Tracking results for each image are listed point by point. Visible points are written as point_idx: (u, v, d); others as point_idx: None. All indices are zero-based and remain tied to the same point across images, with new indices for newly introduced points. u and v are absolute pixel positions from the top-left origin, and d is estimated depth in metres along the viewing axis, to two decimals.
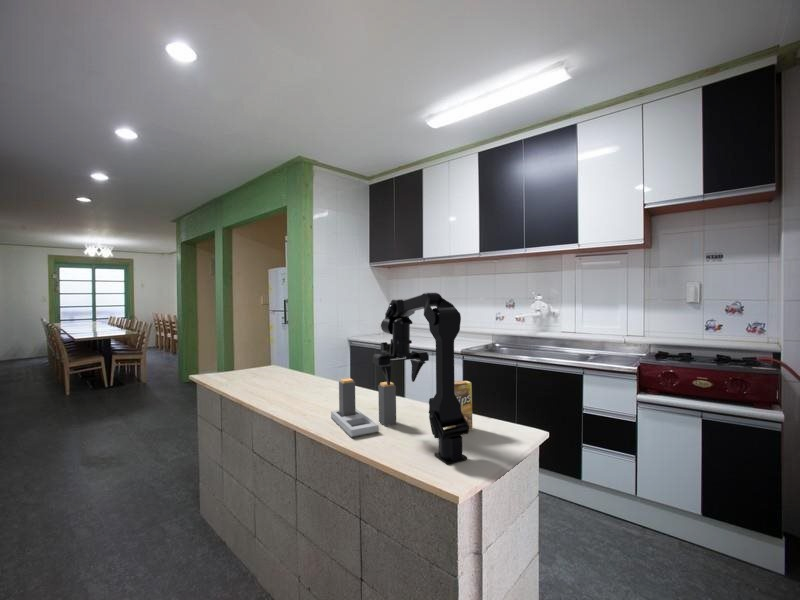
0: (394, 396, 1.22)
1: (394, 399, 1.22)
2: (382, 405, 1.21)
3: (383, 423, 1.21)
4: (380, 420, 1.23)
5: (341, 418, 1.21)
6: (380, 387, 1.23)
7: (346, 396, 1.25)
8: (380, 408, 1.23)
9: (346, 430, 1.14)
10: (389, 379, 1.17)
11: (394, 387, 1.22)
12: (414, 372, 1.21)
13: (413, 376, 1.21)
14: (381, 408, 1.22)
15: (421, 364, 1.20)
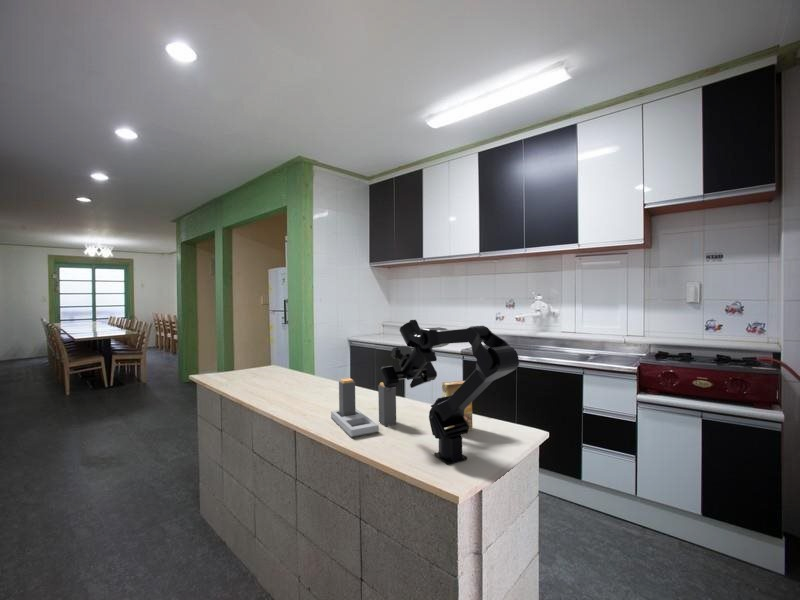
0: (394, 396, 1.22)
1: (394, 399, 1.22)
2: (382, 405, 1.21)
3: (383, 423, 1.21)
4: (380, 420, 1.23)
5: (341, 418, 1.21)
6: (380, 387, 1.23)
7: (346, 396, 1.25)
8: (380, 408, 1.23)
9: (346, 430, 1.14)
10: (389, 390, 1.12)
11: None
12: (415, 383, 1.17)
13: (413, 384, 1.18)
14: (381, 408, 1.22)
15: None
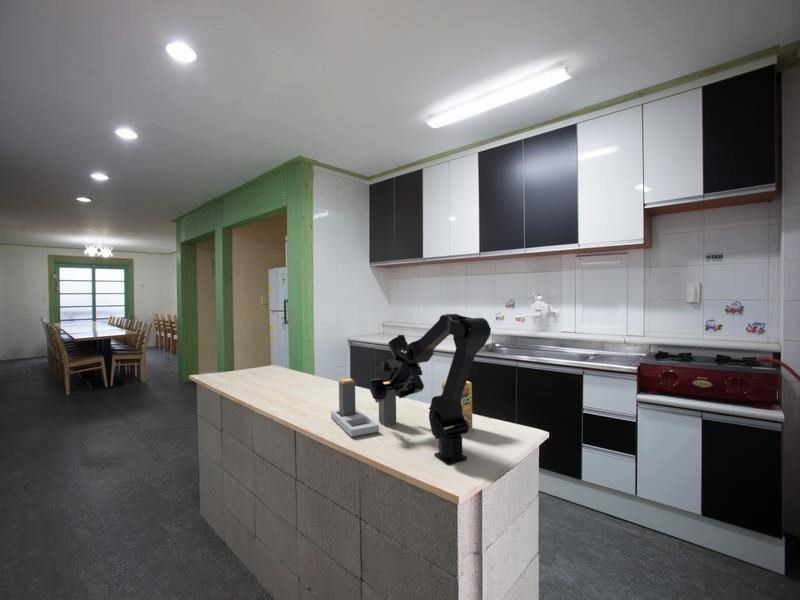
0: (394, 396, 1.22)
1: (394, 399, 1.22)
2: (382, 405, 1.21)
3: (383, 423, 1.21)
4: (380, 420, 1.23)
5: (341, 418, 1.21)
6: None
7: (346, 396, 1.25)
8: (380, 408, 1.23)
9: (346, 430, 1.14)
10: (378, 401, 1.18)
11: None
12: (404, 394, 1.23)
13: (401, 395, 1.24)
14: (381, 408, 1.22)
15: (413, 393, 1.21)
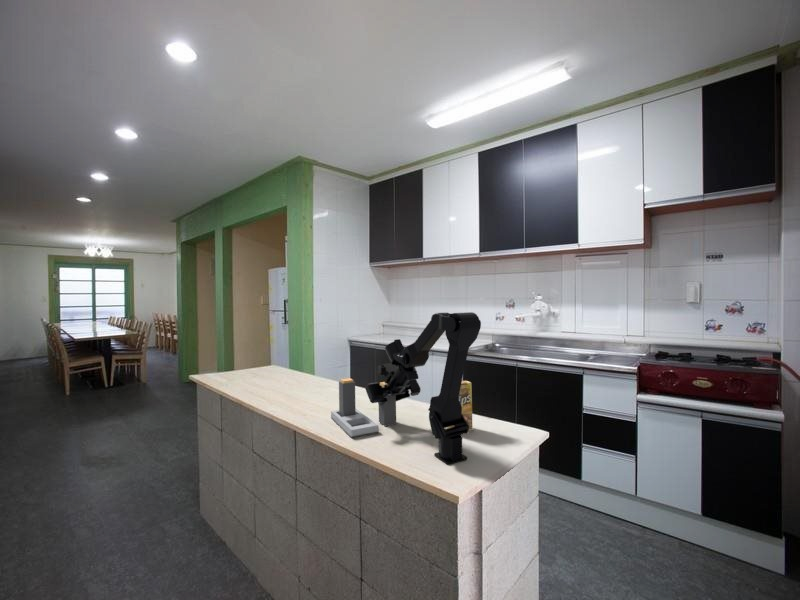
0: (394, 396, 1.22)
1: (394, 399, 1.22)
2: (382, 405, 1.21)
3: (383, 423, 1.21)
4: (380, 420, 1.23)
5: (341, 418, 1.21)
6: None
7: (346, 396, 1.25)
8: (380, 408, 1.23)
9: (346, 430, 1.14)
10: (381, 404, 1.21)
11: None
12: (396, 398, 1.23)
13: None
14: (381, 408, 1.22)
15: None
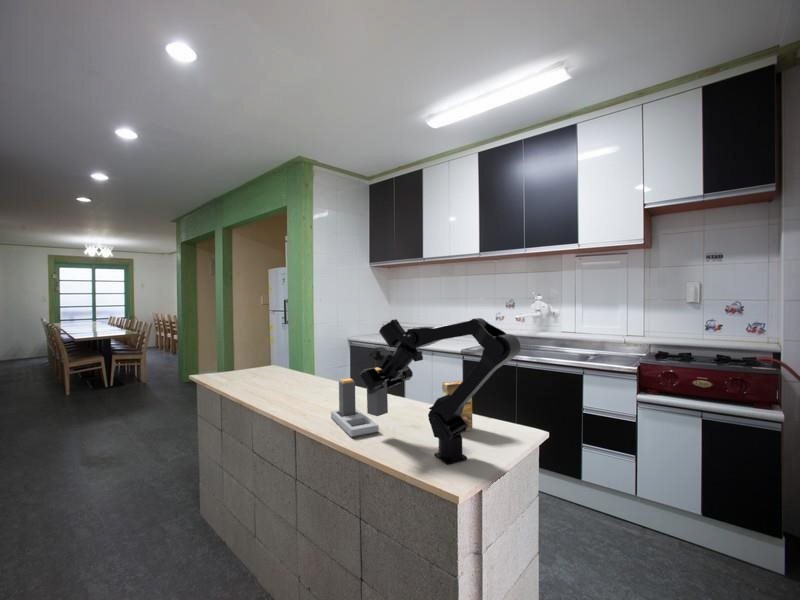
0: (385, 382, 1.11)
1: (386, 385, 1.12)
2: (373, 393, 1.10)
3: (375, 413, 1.09)
4: (370, 410, 1.11)
5: (341, 418, 1.21)
6: None
7: (346, 396, 1.25)
8: (370, 397, 1.11)
9: (346, 430, 1.14)
10: (373, 392, 1.09)
11: None
12: None
13: None
14: (371, 397, 1.10)
15: (398, 383, 1.12)
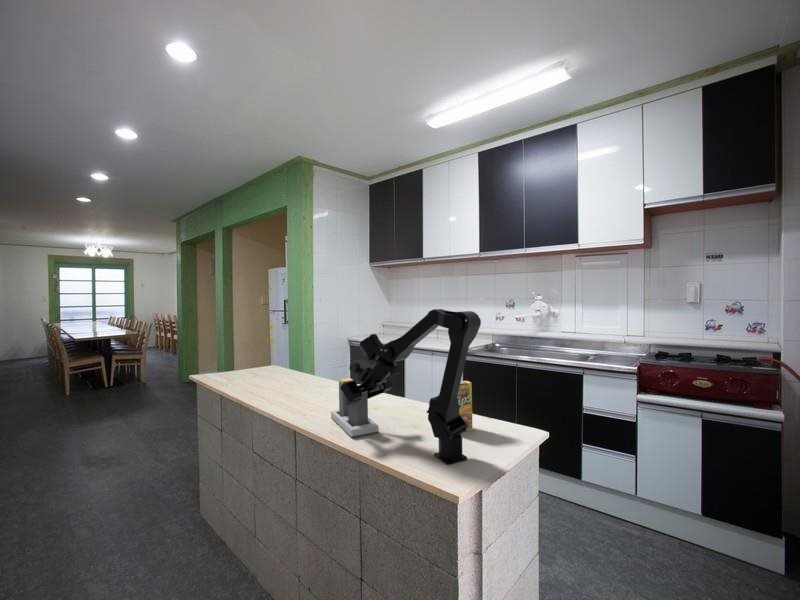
0: (366, 399, 1.17)
1: (366, 402, 1.17)
2: (354, 410, 1.15)
3: None
4: None
5: (341, 418, 1.21)
6: None
7: None
8: (351, 413, 1.16)
9: (346, 430, 1.14)
10: (351, 403, 1.14)
11: None
12: (368, 395, 1.19)
13: None
14: (352, 413, 1.16)
15: None
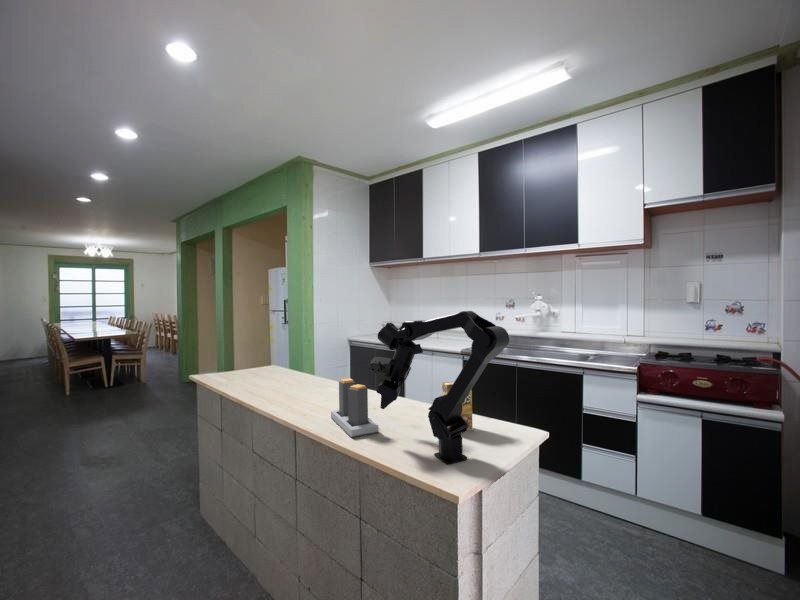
0: (366, 399, 1.17)
1: (366, 402, 1.17)
2: (354, 410, 1.15)
3: None
4: None
5: (341, 418, 1.21)
6: (351, 391, 1.16)
7: (346, 396, 1.25)
8: (351, 413, 1.16)
9: (346, 430, 1.14)
10: (387, 405, 1.06)
11: (366, 389, 1.17)
12: None
13: None
14: (352, 413, 1.16)
15: (405, 378, 1.15)
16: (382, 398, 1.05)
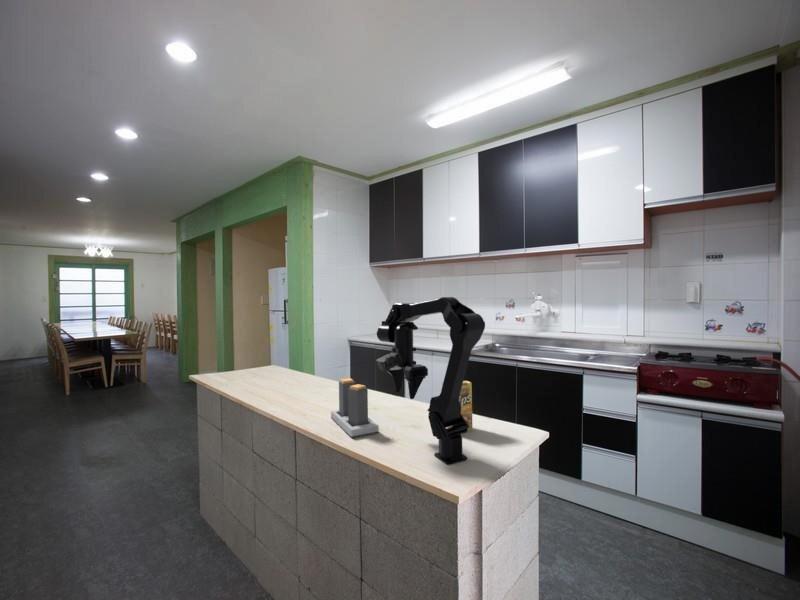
0: (366, 399, 1.17)
1: (366, 402, 1.17)
2: (354, 410, 1.15)
3: None
4: None
5: (341, 418, 1.21)
6: (351, 391, 1.16)
7: (346, 396, 1.25)
8: (351, 413, 1.16)
9: (346, 430, 1.14)
10: None
11: (366, 389, 1.17)
12: (400, 381, 1.14)
13: (399, 386, 1.14)
14: (352, 413, 1.16)
15: None
16: (411, 386, 1.04)
